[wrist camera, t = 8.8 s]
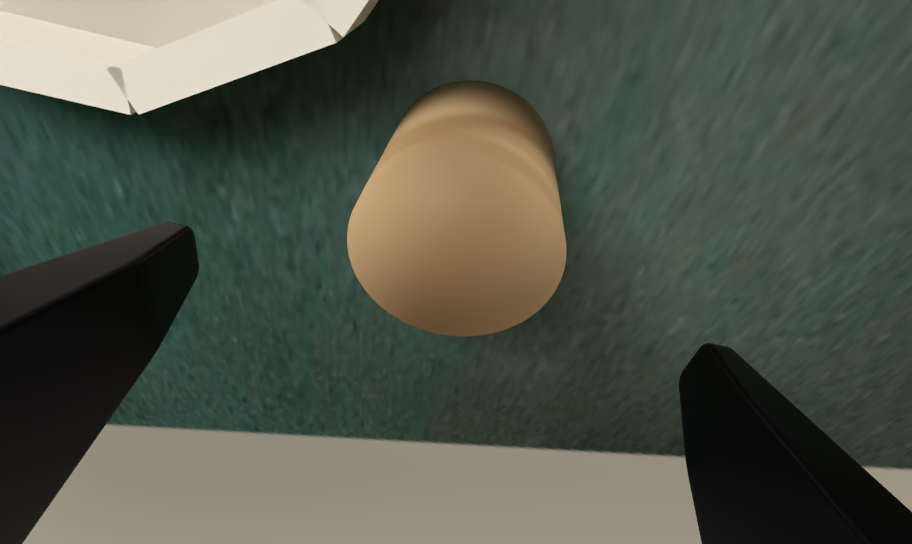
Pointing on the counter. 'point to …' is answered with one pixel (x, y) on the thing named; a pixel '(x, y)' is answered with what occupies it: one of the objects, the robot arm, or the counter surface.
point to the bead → (462, 214)
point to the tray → (158, 45)
